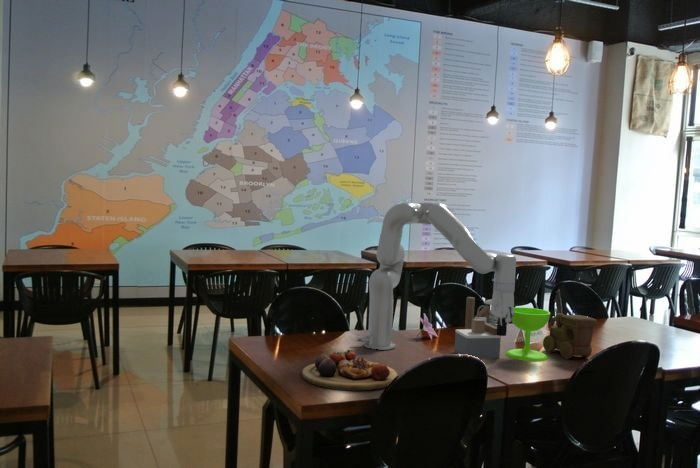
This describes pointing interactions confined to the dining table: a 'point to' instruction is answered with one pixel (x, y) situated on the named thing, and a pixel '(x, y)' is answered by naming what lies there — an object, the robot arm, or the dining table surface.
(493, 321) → the french press
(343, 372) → the wooden plate with food
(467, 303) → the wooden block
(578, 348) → the wooden toy train
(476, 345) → the toolbox
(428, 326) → the lily
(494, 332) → the tan bar
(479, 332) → the lid
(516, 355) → the wineglass
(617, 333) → the dining table surface
